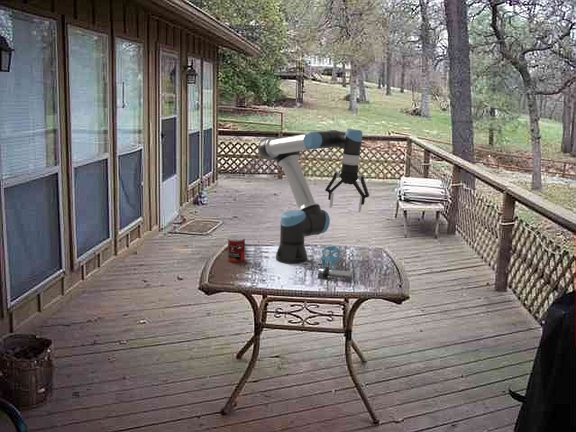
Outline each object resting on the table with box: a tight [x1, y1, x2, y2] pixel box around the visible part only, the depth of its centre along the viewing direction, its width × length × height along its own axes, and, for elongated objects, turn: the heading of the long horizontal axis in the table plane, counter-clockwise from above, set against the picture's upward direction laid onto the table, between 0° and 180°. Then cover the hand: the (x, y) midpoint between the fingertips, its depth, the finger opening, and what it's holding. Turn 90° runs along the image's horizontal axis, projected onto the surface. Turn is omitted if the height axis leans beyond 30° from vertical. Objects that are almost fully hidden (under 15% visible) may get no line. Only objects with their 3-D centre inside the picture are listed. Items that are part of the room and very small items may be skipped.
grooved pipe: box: [317, 266, 353, 283], centre depth 272 cm, size 14×5×5 cm, turn 74°
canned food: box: [227, 235, 246, 263], centre depth 294 cm, size 8×8×11 cm
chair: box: [320, 245, 341, 270], centre depth 280 cm, size 8×8×12 cm
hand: (345, 209), depth 286 cm, fingers open, 13 cm apart
